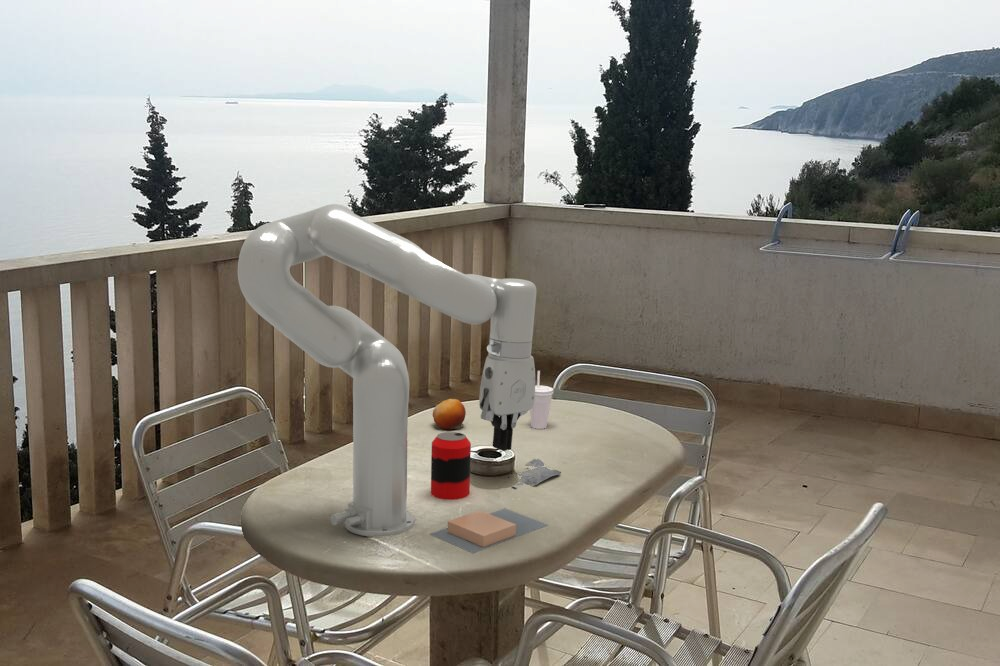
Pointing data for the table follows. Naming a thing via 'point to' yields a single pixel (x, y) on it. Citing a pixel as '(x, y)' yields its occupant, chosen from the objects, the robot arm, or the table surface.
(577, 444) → the table surface
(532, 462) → the stone slab
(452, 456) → the soda can
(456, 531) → the tile
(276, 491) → the table surface
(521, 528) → the mat
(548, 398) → the smoothie
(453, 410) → the fruit
